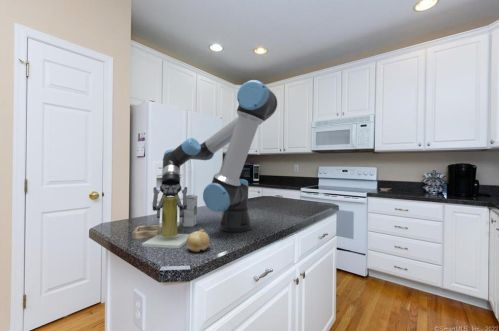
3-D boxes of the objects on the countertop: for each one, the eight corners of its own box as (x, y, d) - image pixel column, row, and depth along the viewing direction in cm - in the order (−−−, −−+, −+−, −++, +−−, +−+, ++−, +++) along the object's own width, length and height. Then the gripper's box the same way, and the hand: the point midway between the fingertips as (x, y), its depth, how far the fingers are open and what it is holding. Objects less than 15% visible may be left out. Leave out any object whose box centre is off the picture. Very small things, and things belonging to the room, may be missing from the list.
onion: (208, 254, 78) (208, 232, 78) (183, 254, 78) (184, 232, 78) (210, 246, 86) (211, 226, 86) (188, 246, 85) (188, 226, 86)
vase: (158, 237, 88) (158, 198, 88) (165, 232, 94) (165, 196, 94) (174, 237, 87) (174, 198, 88) (180, 232, 94) (180, 196, 94)
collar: (162, 230, 106) (162, 224, 106) (160, 237, 96) (160, 230, 96) (136, 232, 103) (136, 226, 103) (132, 239, 93) (132, 232, 93)
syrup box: (185, 223, 119) (185, 194, 119) (197, 224, 118) (197, 195, 119) (181, 226, 113) (182, 196, 113) (194, 226, 113) (194, 196, 113)
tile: (193, 236, 97) (193, 234, 97) (178, 248, 83) (178, 245, 83) (161, 235, 99) (161, 232, 99) (141, 246, 85) (141, 243, 85)
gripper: (192, 183, 108) (194, 228, 92) (148, 183, 103) (143, 231, 87) (193, 172, 103) (195, 217, 87) (147, 172, 98) (141, 220, 82)
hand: (169, 224), depth 87 cm, fingers closed on vase, 5 cm apart
